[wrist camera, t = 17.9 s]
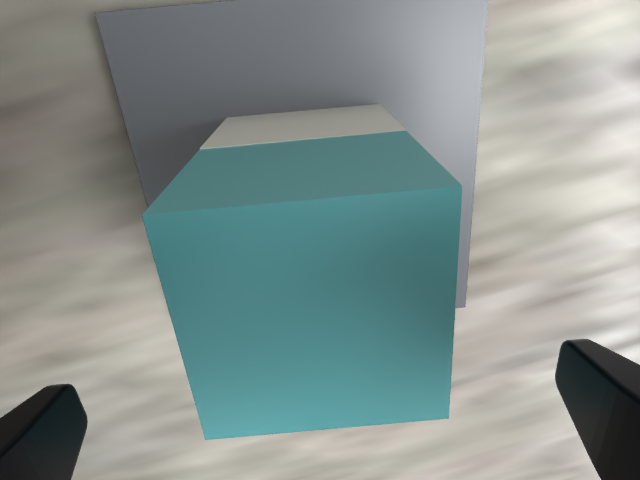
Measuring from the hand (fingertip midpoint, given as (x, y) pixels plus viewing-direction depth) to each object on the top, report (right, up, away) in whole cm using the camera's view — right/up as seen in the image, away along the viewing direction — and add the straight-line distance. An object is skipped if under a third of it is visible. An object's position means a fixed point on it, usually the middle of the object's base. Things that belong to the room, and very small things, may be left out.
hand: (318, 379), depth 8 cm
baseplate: (0, +6, +12) cm, 13 cm away
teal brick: (0, +3, +6) cm, 6 cm away
